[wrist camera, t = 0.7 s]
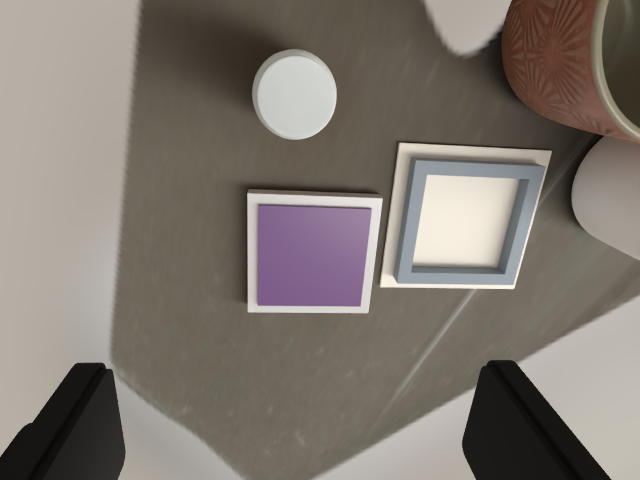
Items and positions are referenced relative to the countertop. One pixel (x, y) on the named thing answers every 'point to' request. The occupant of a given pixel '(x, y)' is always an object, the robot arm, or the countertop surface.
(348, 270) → the ink pad
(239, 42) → the countertop surface
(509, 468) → the robot arm
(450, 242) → the square tray
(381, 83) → the countertop surface
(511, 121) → the countertop surface
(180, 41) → the countertop surface
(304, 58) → the pill bottle
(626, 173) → the cup
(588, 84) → the planter
